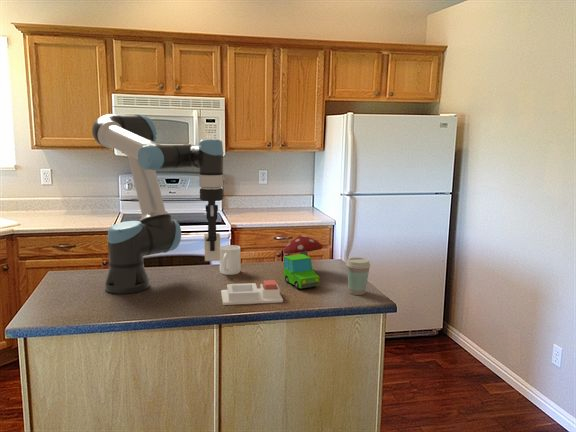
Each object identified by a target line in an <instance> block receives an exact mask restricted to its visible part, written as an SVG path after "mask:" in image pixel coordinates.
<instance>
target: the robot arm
mask: <svg viewBox="0 0 576 432" xmlns="http://www.w3.org/2000/svg"><path fill="white" fill-rule="evenodd" d="M91 134H92V137H93V139H94V140H95V141H96V142H97V143H98V144H99V145H101V146H103V147H105V148H108V149H115V150H117V151H120V152H121V153H122V154H124V155H126V156H127V158H128V162H129V167H130V171H131V175H132V179H133V183H134V187H135V191H136V196H137V199H138V203H139V204H138V205H139V208H140V212H141V217H140V219H139V221H138V220H130V221H128V220H127V221H122V222H116V223H115V224H112V225H111V226H110V227H109V229H107V230H108V231H107V248H108V262H109V263H108V265H109V266H108V272H107V274H106V279H105V281H104V290H105V292H108V293H111V294H118V295H119V294H120V295H123V294H134V293H139V292H142V291H145V290H147V289H149V287H150V278H149V276H148V274H147V271H146V268H145V266H144V257H145V256H151V255H157V254H162V253H165V254H166V253H168V252H171V251H174V250H176V249H177V248H178V246H179V245H180V243H181V240H182V228H181V225H180V223H179V222H178V221H177V220H176V219H172V215H171V213H170V212H168V211H167V210H166V209H165V205H164V199H163V196H162V192H161V187H160V184H159V180H158V177H157V176H158V175H157V172H156V170H168V169H169V170H172V169H188V168H189V169H190V168H191V169H199V173H198V174H199V175H198V176H199V177H198V178H199V181H198V183H199V187H200V188H199V200H201V201H203V202H207V204H205V212H206V220H207V234H208V239H206V241H208V261H207V262H212V261H211V260H217V243H216V240H217V237H216V234H218V233H217V220H218V211H219V205H218V204H216V202H219V201H222V200H224V189H223V187H224V182H223V181H225V180H226V178H225V176H224V149H223V148H224V147H223V141H222V140H220V139H212V138H211V139H208V138H207V139H199V141H198V144H189V143H188V144H186V143H185V144H160V143H157V142H156V140H157V129H156V125H155V124H154V122H153V120H152V119H151V118H150V117H148V116H147V115H141V114H118V113H117V114H115V113H108V114H104V115H102V116H101V115H100V116H99V117H98V118H97V119H96V120H95V121H94V123H93V125H92V129H91ZM211 236H212V237H211Z"/></svg>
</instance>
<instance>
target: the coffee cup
mask: <svg viewBox="0 0 576 432" xmlns="http://www.w3.org/2000/svg"><path fill="white" fill-rule="evenodd" d="M345 265H346V269H347V271H346V272H347V273H346V274H347V283H348V293H349V294H350V295H353V296H354V295H355V296H363V295H365V294H366V291H367V285H368V279H369V272H370V268H371V263H370V260H369V259H367V258H365V257H349V258H348V259H347V261H346V264H345Z"/></svg>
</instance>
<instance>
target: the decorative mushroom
mask: <svg viewBox="0 0 576 432" xmlns="http://www.w3.org/2000/svg"><path fill="white" fill-rule="evenodd" d="M323 247H324V245H322V243H320V242H319V241H318V240H317V239H314V238H312V237H309V236H307V235H301V234H300V235H298V236H297V237H295V238H293V239H292V240H291V241H289V242H288V243H287V244H286V245H285V247H284V248H283V253H284V254H288V255H289V254H291V255H294V254H304V255H306V256H308V257H310V256H309V254H308V253H309V252H314V251H321V250H322V249H323Z"/></svg>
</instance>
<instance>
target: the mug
mask: <svg viewBox="0 0 576 432" xmlns="http://www.w3.org/2000/svg"><path fill="white" fill-rule="evenodd" d="M240 272H241V246H240V245H235V244H234V245H233V244H226V245H220V261H219V273H220V274H221V275H227V276H233V275H234V276H235V275H239V274H240Z"/></svg>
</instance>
